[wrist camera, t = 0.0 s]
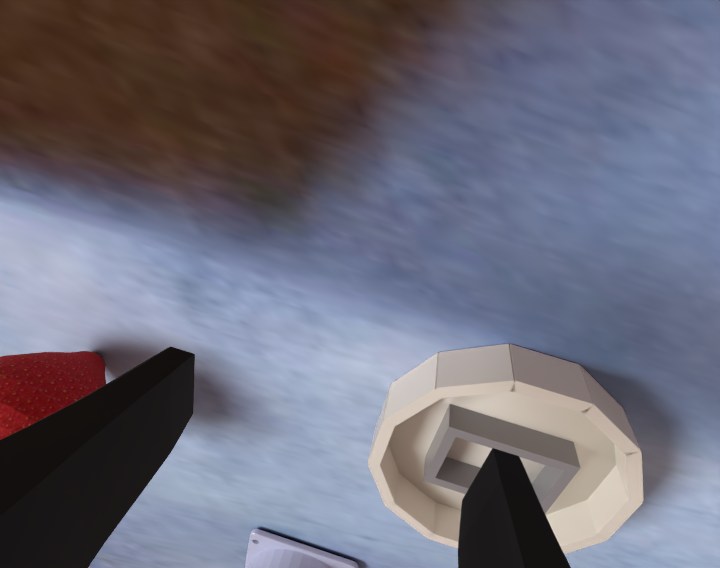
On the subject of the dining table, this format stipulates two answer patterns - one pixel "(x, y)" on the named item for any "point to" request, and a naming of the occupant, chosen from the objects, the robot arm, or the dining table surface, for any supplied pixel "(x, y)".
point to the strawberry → (44, 385)
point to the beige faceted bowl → (506, 442)
